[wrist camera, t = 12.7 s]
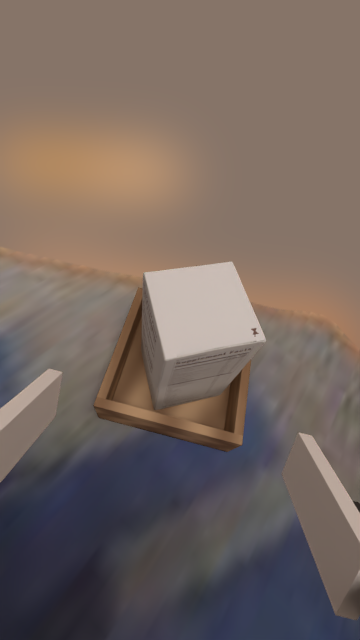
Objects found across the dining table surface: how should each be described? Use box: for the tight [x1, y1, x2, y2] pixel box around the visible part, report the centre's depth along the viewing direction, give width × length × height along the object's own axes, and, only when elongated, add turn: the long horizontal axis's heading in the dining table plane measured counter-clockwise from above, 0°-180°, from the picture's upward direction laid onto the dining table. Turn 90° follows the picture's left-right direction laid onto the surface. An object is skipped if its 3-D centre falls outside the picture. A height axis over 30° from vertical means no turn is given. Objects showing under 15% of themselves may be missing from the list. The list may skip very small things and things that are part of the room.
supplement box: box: [141, 262, 266, 410], centre depth 34 cm, size 10×9×17 cm
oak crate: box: [94, 287, 251, 452], centre depth 39 cm, size 17×17×6 cm
